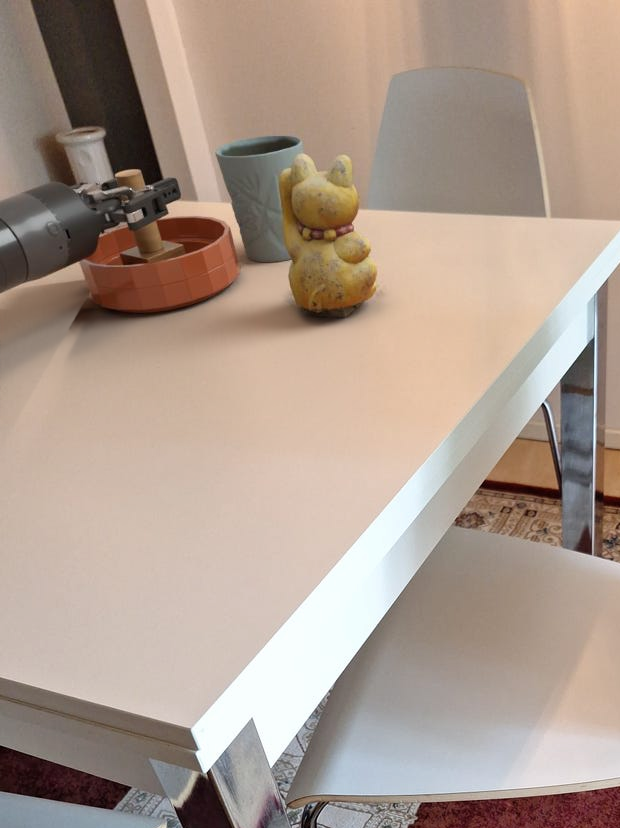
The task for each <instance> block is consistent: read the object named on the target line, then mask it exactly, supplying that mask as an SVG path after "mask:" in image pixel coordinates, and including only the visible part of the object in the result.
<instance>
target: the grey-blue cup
mask: <svg viewBox="0 0 620 828" xmlns="http://www.w3.org/2000/svg"><path fill="white" fill-rule="evenodd" d="M214 153H215V157H216V160H217V163H218V166H219V168H220V173H221V175H222V179H223V183H224V184H225V187H226V190H227V193H228V195H229V197H230V200H231V202H230V203H231V205H230V206H231V207H232V211H233V214H234V218H235V221H236V224H237V225H238V228H239V234H240V237H241V241H242V244H243V248H244V252H245V255H246V257H247V259H249V260H251V261H254V262H258V263H277V262H283V261H288V260H289V261H290V260H292V259H291V257H290V255H289V253H288V251H287V249H286V245H285V241H284V236H283V226H282V207H281V199H280V192H279V175H280V173H281V172H282V171H283V170H284V169H287V168H291V167H292V163H293V159H294V158H295V156H297V155H298V154H301V153H303V154H304V147H303V141H302V139H301V138H300V137H298V136H292V135H263V136H257V137H256V136H255V137H249V138H244V139H243V138H242V139H239V140H235V141H233V142H229V143H226V144H223V145H221V146H219V147H218V148H217V149H216V150H215V152H214Z"/></svg>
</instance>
